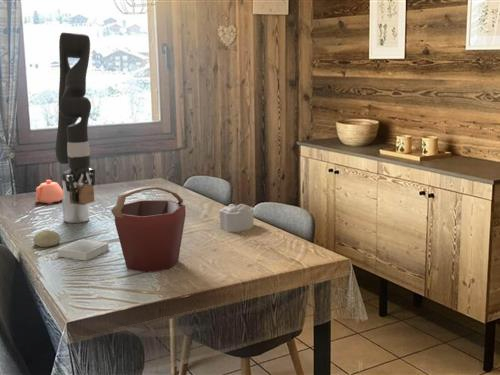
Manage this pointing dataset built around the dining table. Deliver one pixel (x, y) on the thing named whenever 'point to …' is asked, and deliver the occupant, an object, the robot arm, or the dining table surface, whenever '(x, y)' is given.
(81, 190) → the walnut cube
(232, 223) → the lumpy-topped squat cylinder
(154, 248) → the bucket
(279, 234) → the dining table surface
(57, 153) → the robot arm
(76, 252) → the tray
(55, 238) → the sea urchin shell
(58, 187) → the sugar bowl
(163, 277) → the dining table surface
